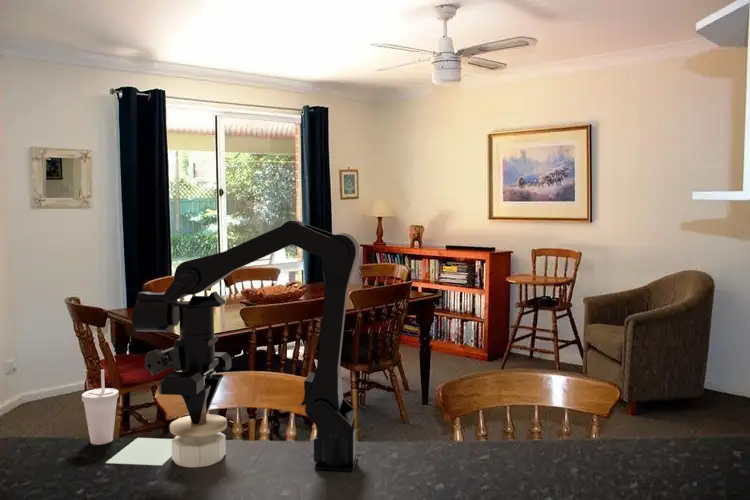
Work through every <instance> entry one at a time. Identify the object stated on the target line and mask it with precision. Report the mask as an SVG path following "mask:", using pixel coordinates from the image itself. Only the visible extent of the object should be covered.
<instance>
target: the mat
mask: <svg viewBox="0 0 750 500" xmlns="http://www.w3.org/2000/svg"><path fill="white" fill-rule="evenodd" d="M173 439H174V438H152V437H137V438H135V439H134V440H133V441H132V442H130V443H129V444H128V445H126V446H125V447H124V448H122V449H121V450H120V451H119V452H117V453H116V454H114V455H113V456H112V457H111V458H110V459H108V460H107V461H106V462H105V464H112V465H113V464H114V465H116V464H117V465H118V464H119V465H135V466H136V465H141V466H161V467H162V466H163V465H164V464H165V463H166V462H168V460H170V459H171V458H172V440H173Z"/></svg>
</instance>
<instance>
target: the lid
mask: <svg viewBox="0 0 750 500" xmlns="http://www.w3.org/2000/svg"><path fill="white" fill-rule="evenodd" d="M226 428H228V419H227V418H226V417H224V416H222V415H219V414H210V413H207V415H206V404H205V407H204V410H203V413H202V417H201V420H200V422H199V424H193V423H192V421H191V418H190V415H187V416H186V415H185V416H182V417H180V418H177V419H174V420H173V421H171V422H170V423H169V432H170V434H172V435H173V436H175V437H176V436H180V437H203V436H209V435H213V434H216V433H219V432H221V433H222V432H223V431H225V430H226Z"/></svg>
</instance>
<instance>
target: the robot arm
mask: <svg viewBox="0 0 750 500" xmlns="http://www.w3.org/2000/svg"><path fill="white" fill-rule="evenodd" d="M291 246H295V247H296V248H298V249H299V248H300V249H302V250H303V251H304V252H308V253H310V254H311V255H314V256H317V257H319V258H321V269H322V276H323V281H324V282H323V283H324V297H323V304H322V305H323V306H322V316H321V325H320V334H319V344H318V351H317V353H318V354H317V355H318V356H317V362H316V363H317V365H316V369H315V373H314V372H308V375H307V377H306V378H305V379H304V383H303V389H304V397H303V401H302V402H301V406H305V407H304V412H305V415H306V417H307V418H308V419H309V420H310V422H312V423H313V424H314V425H315V428H316V434H315V436H314V437H313V462H314V463H315V465H314V470H317V471H318V470H319V471H341V472H352V471H354V470H355V469H354V468H355V465H356V463H357V459H358V454H356V445H357V443H356V442H357V441H356V433H357V431H356V425H352V424H353V421H354V417H355V414H356V409H355V407H353V406H352V405H351V404H350V403H349V402H348V401H347V400H346V399H345V398H344V390H343V379H342V373H341V358H342V357H341V356H342V348H343V338H344V330H345V329H344V328H345V321H346V320H345V319H346V312H347V311H346V310H347V301H348V294H349V292H348V291H349V286H350V284H351V280H352V276H353V273H354V270H355V266H356V264H357V260H358V256H359V253H360V245H359V243H358V241H357V239H356V238H355V237H354V236H352V235H351V234H349V233H345V232H338V233H336V234H334V233H331V232H328V231H326V230H323V229H321V228H317V227H314V226H312V225H308V224H306V223H304V222H303V221H300V220H297V219H296V220H295V219H294V220H289V221H285V222H284V223H283V224H282V225H279V226H278V227H275V228H274V229H271V230H269V231H266V232H264V233H262V234H260V235H258V236H256V237H253V238H251V239H249V240H247V241H245V242H242V243H239V244H238V245H236V246H233V247H230V248H229V249H226V250H224V251H222V252H217V253H213V254H210V255H206V256H202V257H198V258H193V259H189V260H185V261H183V262H182V261H181V263H180V264H178V265H177V266H176V268H175V271H174V273H173V274H174V276H173V281H172V282H171V284H170V285H169V286H168V288H167V289H166V291H165V292H152V291H140V292H138V293H137V294H136V299H137V300H136V301H135V304H134V305H133V311H132V313H131V323H132V326H133V329H134V330H135V332H149V333H150V332H151V333H152V332H159V333H161V332H163V333H166V332H167V333H168V332H171V331H172V330H173V329H174V328H175V327H177V326H178V325H179V338H177V339H176V340H175V341H174V343H173V347H170V348H166V349H164V350H160V349H159V348H156V349H155V350H152V351H149V352H147V353H145V358H144V366H143V367H144V369H146V370H147V371H149V372H150V374H151V376H156V375H159V374H160V373H161V372H163V371H166V370H169V369H173V371H172V372H170V373H168V374H166V375H165V376H164V377H162V378H161V380H159V382H158V388H159V389H158V391H159V395H162V396H163V395H165V396H166V395H168V396H173V395H174V396H181V398H182V399H183V401H184V404H185V407H186V409H187V412H188V416H190V418H191V421H192V423H193V424H199V422H200V420H201V417H202V413H203V410H204V407H205V404H206V415H207V414H208V413H209V409H210V407H211V406H212V405H211V404H212V403H213V400H214V398H215V396H216V393H217V391H218V388H219V386H220V385H221V384H220V383H221V381H222V379H223V378H224V374H221V373H220V374H218V373H217V372H216V370H214V369H215V368H222V370H223V371H228V370H230V369H231V368H232V356H231V355H230V354H229V353H228V352H226V351H225V352H224V351H223V352H221V351H220V352H219V351H215V350H216V349H215V344H216V343H217V342H219V335H218V334H215V313H214V311H215V308H219V307H220V308H221V307H222V306H223V305H225V304H226V302H227V301H226V300H225V299H224V298H223V297H222V296H221V295H220V294H219V292H218V291H213V292H211V293H210V294H209V295H196V294H199V293H202V292H204V291H207V290H209V289H211V288H212V287H214V286H215V285H216V284H218V283H220V282H221V281H222V280H224V279H226V278H227V277H228V276H229V275H230V274H232V273H233V272H235V271H237V270H238V269H241V268H243V267H246V266H247V265H249V264H251V263H254V262H257V261H258V260H260V259H263V258H264V257H265V258H266V257H267V256H269V255H272V254H275V253H276V252H278V251H281V250H283V249H285V248H287V247H291ZM191 295H192V297H191V298H190V300H180V299H183V298H185V297H187V296H191ZM173 331H174V330H173Z"/></svg>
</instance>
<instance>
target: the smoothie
mask: <svg viewBox="0 0 750 500" xmlns="http://www.w3.org/2000/svg"><path fill="white" fill-rule="evenodd" d="M100 372H101V373H100V381H101V385H100V387H101V388H100V387H99V388H94V389H91V390H89V389H88V390H87V391H84V392H83V393H82V394H81V401H82V403H83V406H84V411H85V417H86V423H87V428H88V429H87V430H88V436H89V440H90V444H92V445H99V446H100V445H106V444H109V443H112V442H113V441H114V431H115V421H116V412H117V403H118V402H117V401H118V398H119V397H120V395H119V390H118V389H116V388H112V387H111V388H110V387H109V388H108V387H105V386H106V385H105V384H106V383H105V381H106V380H105V369H100Z"/></svg>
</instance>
